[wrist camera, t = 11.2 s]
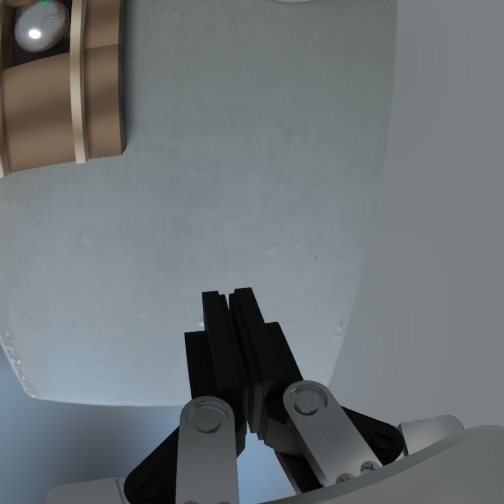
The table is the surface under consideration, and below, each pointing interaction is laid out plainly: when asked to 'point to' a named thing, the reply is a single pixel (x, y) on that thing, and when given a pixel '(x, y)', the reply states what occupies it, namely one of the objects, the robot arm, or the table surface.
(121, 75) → the walnut board
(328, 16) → the table surface
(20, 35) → the steel ball
